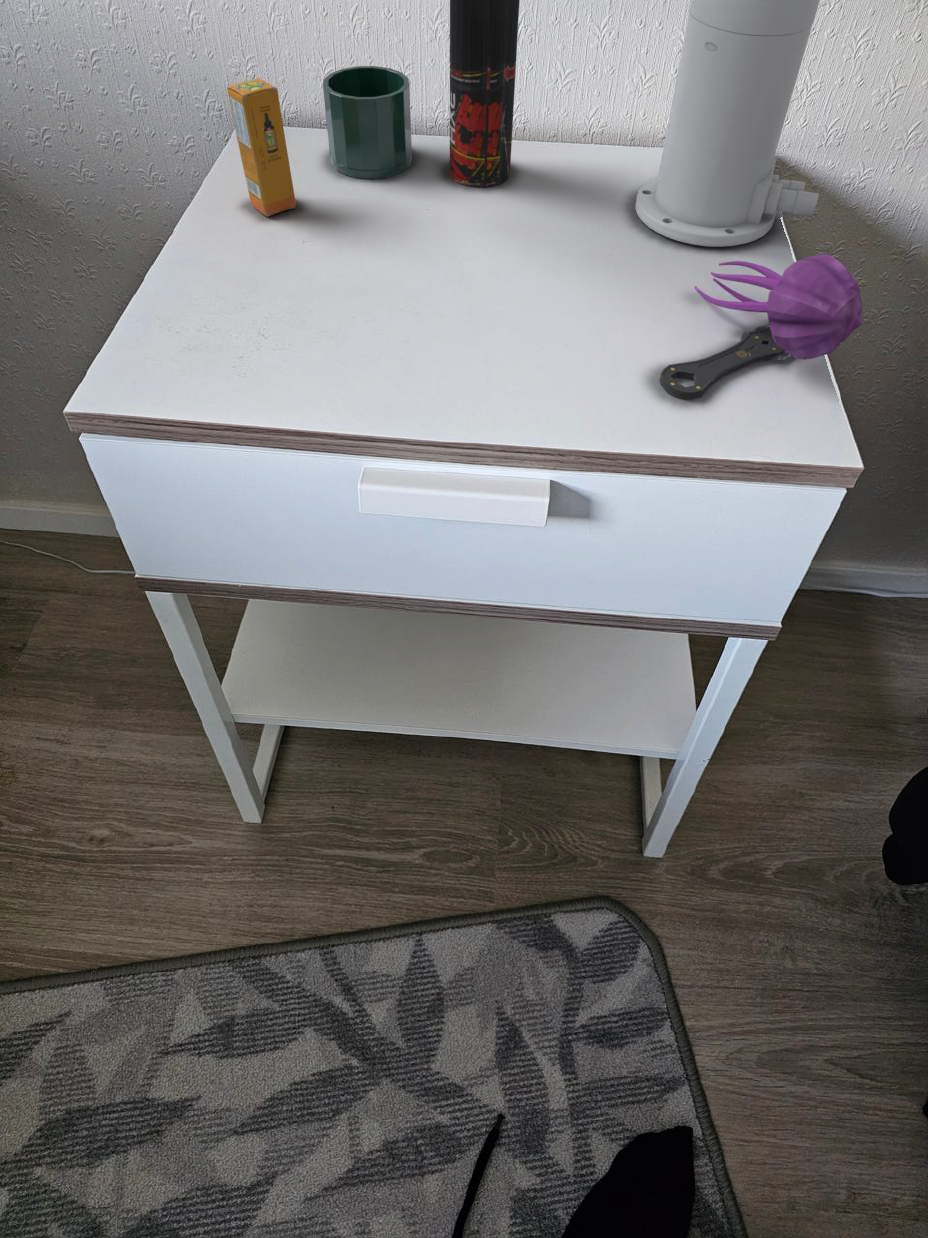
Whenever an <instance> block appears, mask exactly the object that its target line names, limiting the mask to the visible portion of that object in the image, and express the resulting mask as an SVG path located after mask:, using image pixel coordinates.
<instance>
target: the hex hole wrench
mask: <svg viewBox="0 0 928 1238" xmlns="http://www.w3.org/2000/svg"><path fill="white" fill-rule="evenodd" d="M790 357H792V356H791V355H790V354H789V353H788V352H787V351H786V350H784V349H782V348H780V347H778V346H777V345H776V343H775V341H774V340H773V337H772V333H771V330H770V325H769V323H767V324H763V325H759V326H756V327H753V328H749V329H747V330H744V331H742V332H741V338H740V341H738V342H737V343H735V344H734V345H732V346H730V347H728V348H726V349H724V350H721V351H719V352H716V353H714V354H712V355H710V356H707V357H704V358H700V359H697V360H692V361H686V362H685V361H684V362H679V363H671V364H668V365H667V366H666V367H664V368H663V369H662V371H661V373H660V375H659V384H660V386H661V387H662V388H663V390H664V391H665V392H667V393H668V394H670V395H672V396H674V397H676V398H679V399H682V400H693V399H696V398H702V396H703V395H704V394H705V393H706V392H707V391H708V390H709V389H711V387H713V385H715V383H717V382H718V381H720V380H721V379H723V378H724V377H726V376H728V375H730V374H732V373H734V372H736V371H739V370H741V369H744V368H745V367H748V366H750V365H753V364H757V363H760V362H766V361H774V360H779V361H781V360H782V361H785V360H787V359H788V358H790ZM675 377H683V378H688V379H693V383H694V384H693V385H690V386H684V385H682V384H680V383H678V382H676V380H675V379H674V378H675Z"/></svg>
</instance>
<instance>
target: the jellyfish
mask: <svg viewBox="0 0 928 1238" xmlns="http://www.w3.org/2000/svg"><path fill="white" fill-rule="evenodd" d="M718 266H719V267H722V266H739V267H744V268H748V269H752V270H754V271H755V272H757V273H759V274H761V275H753V274H739V273H736V274H735V273H734V274H733V273H731V274H729V273H728V274H727V273H716V272H713V271H710V273H709V274H710V275H711V276H712V277H714V278H712V281H713V282H714V283H716V284H717V285H718V286H719V287H721V288H722V289H723V290H724V291H725V292H727V293H728V294H730V295H731V296H733V297H734V298H736V299H737V300H738V301H733V300H731V301H730V300H723V299H718V298H714V297H711V296H710V295H708V294H706V293H705V292H703V291H702V290H701V289H700V288H699V287H698V286H697V285H694V289H695V291H696V293H698V294H699V296H700V297H701V298H703V299H704V300H705V301H707V302H708V303H710V304H713V305H715V306H717V307H720V308H724V309H729V310H736V311H744V312H752V313H753V312H754V313H766V315H767V320H768V324H769V325H770V330H771V333H772V337H773V340H774V341H775V343H776V345H777V346H778V347H780V348H782V349H784V350H786V351H787V352H788V353H789V354H790V355H791V356H790V357H793V358H795V359H799V360H812V359H816V358H820V357H823V356H826V355H830V354H831V353H833V352H834V351H836V349H837V348H838V347H839V345H840V344H841V343H843V342H845V341H846V340H847V338H849V337H850V335H851V334H852V333H853V332H854V331H855V330H857V329H858V328H859V327H860V326H862V325H863V301H862V300H863V299H862V296H861V290H860V289H861V288H860V284H859V283H858V280H857V279H856V276H854V275H853V274H852V273H851V272H850V270H849V268H848V267H847V266H846V265H845V264H844V263H843V262H841V260H838V259H836V258H835V257H834V256H832V255H829V254H827V253H819V254H816V255H812V256H809V257H804V258H801V259H799V260H796V261H793V262H792V263H791V264H790V265H789V266H788V267H786V268H785V269H784V270H783V273H782V275H781V274H779V273H777V272H776V271H774V270H773V269H771V268H769V267H766V266H764V265H761V264H758V263H754V262H749V261H745V260H744V261H742V260H733V261H732V260H731V261H725V262H720V263H718ZM762 275H763V276H762ZM716 278H717V279H718V280H717V279H716ZM719 279H720V280H724V281H730V282H737V283H742V284H747V285H752V286H757V287H759V288H763V289H767V290H768V291H769V290H770V291H769V292H768V296H767V301H760V300H755V299H752V298H750V297H748V296H745V295H743V294H742V293H739V292H737V291H736V290H733V289H732V288H730V287H728V286H727V285H725V284H723V283H722V282H720V281H719Z"/></svg>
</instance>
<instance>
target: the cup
mask: <svg viewBox="0 0 928 1238" xmlns="http://www.w3.org/2000/svg"><path fill="white" fill-rule="evenodd" d="M322 89H323V90H322V91H323V101H324V102H323V103H324V110H325V120H326V130H327V138H328V139H327V140H328V148H329V156H330V163H331V165H332V167H333V168H334V169H335V170H336V171H337V172H338V173H341V174H343V175H345V176H348V177H351V178H358V179H366V180H367V179H371V180H373V179H382V178H388V177H393V176H396V175H398V174H400V173H403V172H404V171H406V170H407V169H408V168H409V167H410V166H411V163H412V159H413V158H412V153H413V151H412V149H413V147H412V124H411V123H412V120H411V119H412V117H411V90H410V89H411V88H410V79H409V77H408V76H407V75H405V74H404V73H403V72H401V71H399V70H396V69H393V68H390V67H384V66H383V67H382V66H378V65H377V66H376V65H358V66H357V65H356V66H351V67H344V68H340V69H338V70H336V71H333V72H330V73H329V74H328V75H326V77H324V78H323V80H322Z"/></svg>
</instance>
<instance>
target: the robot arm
mask: <svg viewBox="0 0 928 1238" xmlns="http://www.w3.org/2000/svg"><path fill="white" fill-rule="evenodd" d="M820 1H821V0H691V1H690V7H689V10H688V14H687V21H686V25H685V26H686V27H685V32H684V38H683V42H682V47H681V53H680V58H679V62H678V67H677V68H678V69H677V74H676V79H675V84H674V89H673V93H672V98H671V99H672V100H671V104H670V110H669V114H668V115H669V116H668V121H667V127H666V131H665V137H664V143H663V148H662V153H661V158H660V164H659V169H658V174H657V176H656V177H653V178H651V179H649V180H648V181H647V182H645V183H644V184H642V185H641V187H640V188H639V189H638V191H637V194H636V199H635V200H636V201H635V207H634V208H635V211H636V215H637V216H638V218H639V220H640V221H641V222H642V223H643V224H644V225H645V226H647V227H648V228H649V229H651V230H652V231H654V232H655V233H657V234H659V235H661V236H664V237H665V238H667V239H670V240H671V239H672V240H674V241H677V242H680V243H684V244H688V245H692V246H703V247H715V248H723V247H725V248H726V247H736V246H740V245H746V244H749V243H751V242H755V241H757V240H758V239H760V238H762V237H764V236H765V235H767V233H768V232H770V231H771V229H772V227H773V225H774V222H775V218H776V214H777V212H783V213H788V214H791V215H793V216H800V217H805V218H812V217H813V216H814V214H815V211H816V207H817V204H818V200H819V198H820V197H819V196H820V193H818V192H813V191H806V190H805V188H806V183H807V182H806V181H799V180H793V179H791V180H787V179H781V178H780V177H781V176H780V175H779V174H775V173H774V172H775V168H776V164H777V158H775V155H776V152H777V149H778V145H779V142H780V138H781V135H782V130H783V128H784V125H785V121H786V117H787V114H788V110H789V108H790V103H791V100H792V97H793V93H794V90H795V87H796V83H797V79H798V76H799V73H800V69H801V66H802V63H803V59H804V55H805V51H806V48H807V44H808V41H809V39H810V34H811V31H812V29H813V28H812V27H813V25H814V22H815V18H816V16H817V12H818V8H819V5H820Z"/></svg>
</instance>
